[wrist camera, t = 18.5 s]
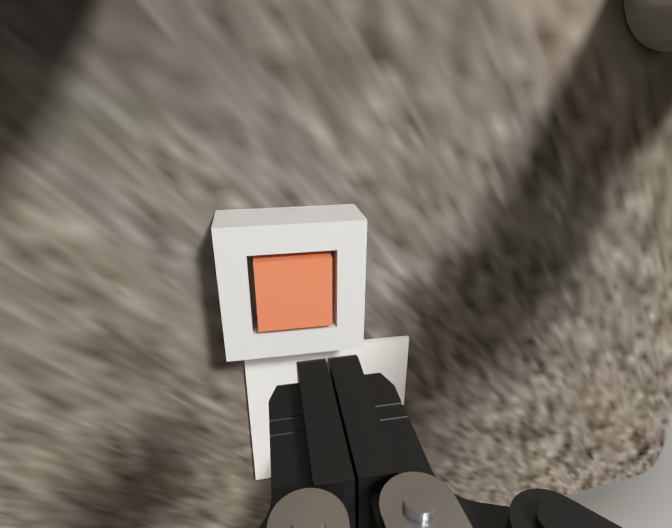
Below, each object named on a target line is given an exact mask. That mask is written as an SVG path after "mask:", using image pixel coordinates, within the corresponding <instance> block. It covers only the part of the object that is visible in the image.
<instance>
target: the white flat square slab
mask: <svg viewBox="0 0 672 528" xmlns="http://www.w3.org/2000/svg"><path fill="white" fill-rule="evenodd" d="M408 346H409V337H408V335H407V336H397V337H387V338H377V339H367V340H363V348H355V349H345V350H336V351H326V352H316V353H307V354H297V355H288V356H278V357H268V358H259V359H249V360H244V363H245V373H246V383H247V394H248V404H249V414H250V425H251V435H252V445H253V456H254V466H255V476H256V480H259V479H265V478H271V462H270V433H269V404H268V401H269V400H270V398H271V396H272V394H273V392H274V390H275V388H276V386H277V385H285V384H293V383H298V380H297V365H296V362H298V361H306V360H315V359H323V358H326V361H327V358H331V357H339V356H348V355H357V356H358V358H359V361H360V364H361V367H362V370H363V373H364V375H365V374H373V373H381V374H382V375H383V376H385V377H386V378H387V379H388V380H389V381H390V382H391V383H392V384H394V385H395V388H396V390H397V392H398V395H399V397H400V399H401V402H402V405H403V406H404V396H405V384H406V371H407V359H408Z"/></svg>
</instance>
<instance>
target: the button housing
mask: <svg viewBox="0 0 672 528" xmlns="http://www.w3.org/2000/svg"><path fill="white" fill-rule="evenodd" d="M211 232H212V240H213V249H214V257H215V266H216V275H217V283H218V292H219V300H220V309H221V318H222V326H223V335H224V343H225V352H226V361H227V362H230V361H239V360H249V359H259V358H268V357H278V356H288V355H297V354H307V353H316V352H326V351H336V350H345V349H355V348H363V339H364V308H365V276H366V245H367V219H366V218H365V217H364V215H363V214H362V213H361V212H360V210H359V209H358V208H357V207H356V206H355V204H342V205H321V206H300V207H278V208H257V209H236V210H216V211H215V215H214V219H213V223H212V227H211ZM316 251H329V252H330V254H331V256H332V325H328V326H317V327H306V328H296V329H285V330H274V331H264V332H259V331H258V318H257V306H256V293H255V280H254V268H253V256H255V255H270V254H286V253H301V252H316Z"/></svg>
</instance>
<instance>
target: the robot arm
mask: <svg viewBox="0 0 672 528" xmlns="http://www.w3.org/2000/svg"><path fill="white" fill-rule="evenodd" d="M624 10H625V15H626V20H627V23H628V25H629V27H630V30H631V32H632V34H633V35H634V36H635V37H636V39H637V40H638V41H639V42H640V43H641V44H643V45H644V46H646V47H647V48H649V49H652V50H656V51H659V52H671V51H672V0H624ZM296 365H297V380H298V383H293V384H285V385H277V386H276V388H275V390H274V392H273V394H272V396H271V398H270V400H269V401H268V404H269V433H270V462H271V492H272V497H271V505H270V509H269V512H268V514H267V516H266V518H265V520H264V522H263V523H262V524H261V526H260V527H259V528H622V527H620V526H618V525H616V524H614V523H613V522H611V521H609V520H607V519H606V518H604V517H602V516H600V515H598V514H597V513H595V512H593V511H591V510H589V509H588V508H585V507H584V506H582V505H580V504H579V503H577V502H575V501H573V500H571V499H570V498H568V497H566V496H564V495H562V494H560V493H557V492H554V491H550V490H546V489H529V490H525V491H523V492H521V493H519V494H518V495H517V496H516V497H515V498H514V499H513V500H512V503H511V505H510V507H507V506H500V505H493V504H486V503H480V502H474V501H470V500H467V499H464V498H462V497H460V496H458V495H456V494H454V493H453V492H452V490H451V489H450V488H449V487H448V486H447V485H446V484H445V483H444V482H442V481H441V480H439V479H438V478H436V477H435V475H434V474H433V472H432V470H431V468H430V465H429V463H428V461H427V458H426V456H425V454H424V452H423V449H422V447H421V445H420V442H419V440H418V438H417V436H416V433H415V431H414V429H413V426H412V424H411V422H410V420H409V418H408V417H407V413H406V411H405V408H404V406H403V405H402V402H401V399H400V397H399V395H398V392H397V390H396V388H395V385H394V384H392V383H391V382H390V381H389V380H388V379H387V378H386V377H385V376H383V375H382V374H381V373H373V374H365V375H364V373H363V370H362V367H361V364H360V361H359V358H358V356H357V355H348V356H339V357H331V358H327V361H326V358H323V359H315V360H306V361H298V362H296Z"/></svg>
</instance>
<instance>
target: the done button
mask: <svg viewBox="0 0 672 528" xmlns="http://www.w3.org/2000/svg"><path fill="white" fill-rule="evenodd" d="M253 268H254V280H255V293H256V306H257V318H258V331H259V332H264V331H274V330H285V329H296V328H306V327H317V326H328V325H332V256H331V254H330V252H329V251H316V252H301V253H286V254H270V255H255V256H253Z"/></svg>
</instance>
